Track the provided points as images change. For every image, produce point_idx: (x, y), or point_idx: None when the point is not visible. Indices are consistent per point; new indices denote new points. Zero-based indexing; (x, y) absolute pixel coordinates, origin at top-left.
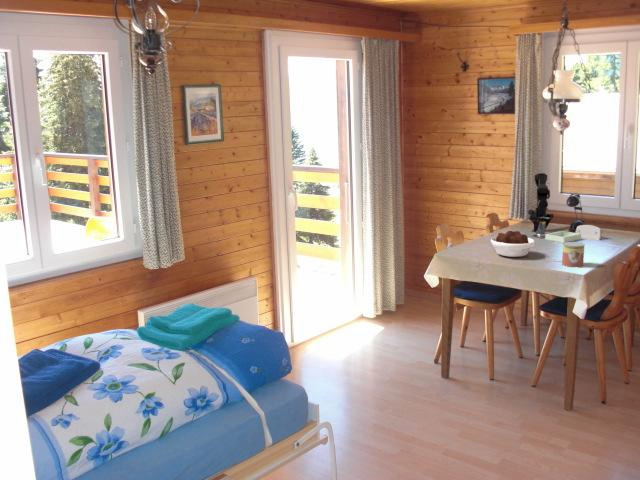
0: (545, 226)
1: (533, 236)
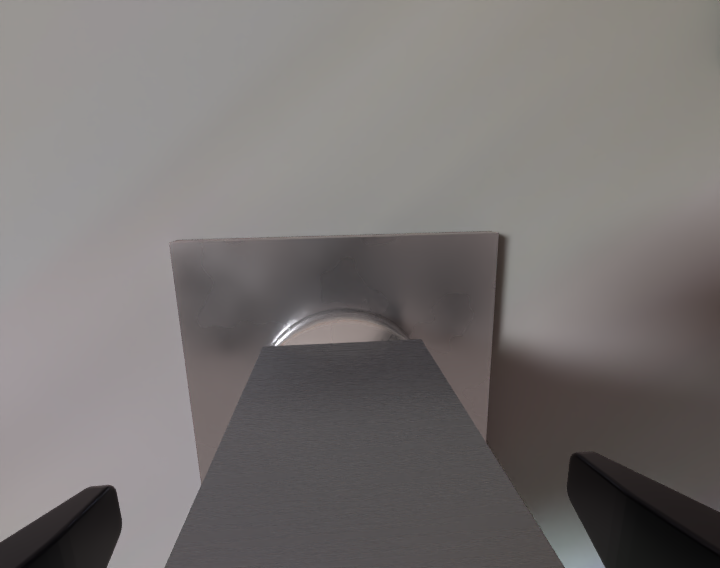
0: (626, 565)
1: (184, 324)
